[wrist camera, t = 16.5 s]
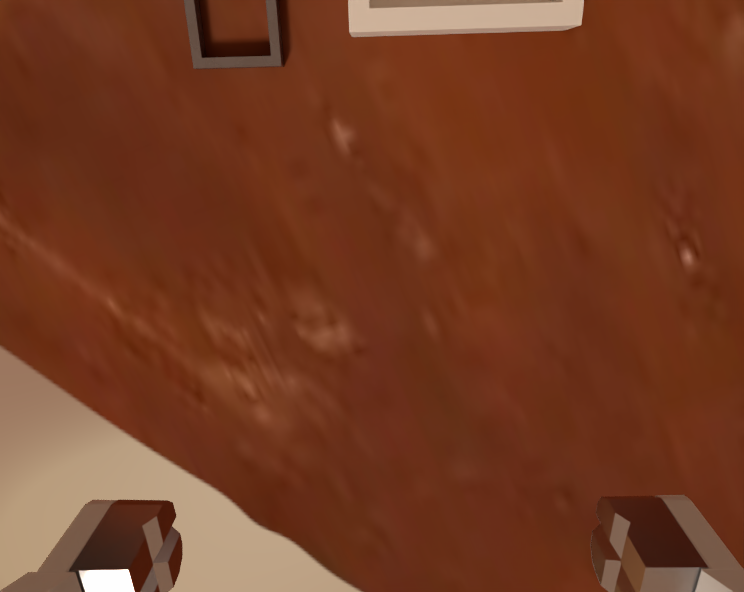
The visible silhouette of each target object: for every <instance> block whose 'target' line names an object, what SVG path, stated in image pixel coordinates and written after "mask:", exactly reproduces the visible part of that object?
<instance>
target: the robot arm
mask: <svg viewBox="0 0 744 592" xmlns="http://www.w3.org/2000/svg"><path fill="white" fill-rule="evenodd" d="M596 515H597V517H598V519H599V521H600V524H599V525H598V526H597V527H596V528H595V529H594V530H593V531H592V538H591V554H592V562H593V565H594V569H595V572H596V575H597V577H598V579H599V582H600V584H601V586H602V587H604V588H605V589H606V590H607V591H608V592H744V569H743V568H742V567H741V566H740V564H739V563H738V562H737V560H736V559H735V558H734V556H733V555H732V554H731V552H730V551H729V550H728V549H727V547H726V546H725V545H724V543H723V542H722V541H721V539H720V538H719V537H718V535H717V534H716V533H715V531H714V530H713V529H712V527H711V526H710V525H709V524H708V522H707V521H706V520H705V518H704V517H703V516H702V514H701V513H700V512H699V510H698V509H697V508H696V506H695V505H694V504H693V503H692V501H691V500H690V499H689V498H687V497H686V496H684V495H659V496H615V497H601V498H600V500H599V501H598V503H597V509H596ZM175 518H176V513H175V509H174V505H173V503H172V502H170V501H160V500H92V501H90V502H88V503H87V504H85V506H84V507H83V508H82V509H81V511H80V512H79V514H78V515H77V516H76V518H75V519H74V521H73V522H72V523H71V525H70V526H69V528H68V529H67V530H66V532H65V533H64V535H63V536H62V537H61V539H60V540H59V542H58V543H57V544H56V546H55V547H54V549H53V550H52V551H51V553H50V554H49V555H48V557H47V558H46V560H45V561H44V562H43V564H42V566H41V567H40V568H39V570H38V571H37V572H28V573H27V574H25V575H24V576H22V577H21V578H19V579H18V580H16V581H15V582H13V583H11V584H10V585H9V586H7V587H5V588H4V589H2V590H1V591H0V592H168V591H170V590H171V589H172V588H173V587H174V585H175V582H176V579H177V577H178V574H179V571H180V565H181V561H182V540H181V535H180V533H179V532H178V531H177V530H175V529H174V528H173V527H172V524H173V522H174V520H175Z"/></svg>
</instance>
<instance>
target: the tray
mask: <svg viewBox="0 0 744 592" xmlns="http://www.w3.org/2000/svg"><path fill="white" fill-rule="evenodd" d="M583 5H584V0H348V8H349V32H350V34H351V36H352V37H368V36H400V35H432V34H465V33H497V32H529V31H561V30H567V29H570V28H574V27H577V26H580V25H581V23H582V14H583Z"/></svg>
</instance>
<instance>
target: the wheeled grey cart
mask: <svg viewBox="0 0 744 592" xmlns="http://www.w3.org/2000/svg"><path fill="white" fill-rule="evenodd" d="M184 4H185V11H186V18H187V25H188V32H189V39H190V46H191V53H192V60H193V67H194V69H217V68H251V67H284V59H283V47H282V35H281V23H280V11H279V0H266V6H267V17H268V28H269V39H270V51H271V56H248V57H215V58H206V50H205V43H204V35H203V28H202V20H201V13H200V5H199V0H184Z"/></svg>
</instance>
